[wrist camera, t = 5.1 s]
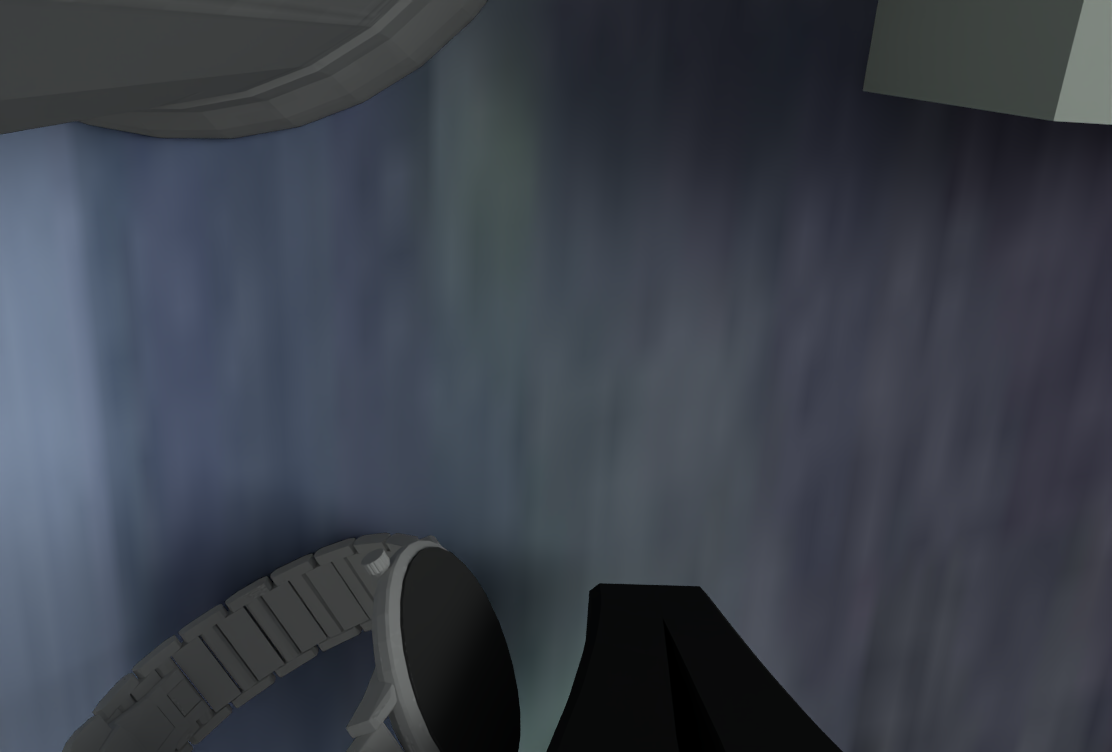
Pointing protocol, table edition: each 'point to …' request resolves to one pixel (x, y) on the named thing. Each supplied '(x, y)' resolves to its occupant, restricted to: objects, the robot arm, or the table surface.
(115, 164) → the table surface
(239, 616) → the wristwatch
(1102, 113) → the sage block
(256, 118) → the glass holder
